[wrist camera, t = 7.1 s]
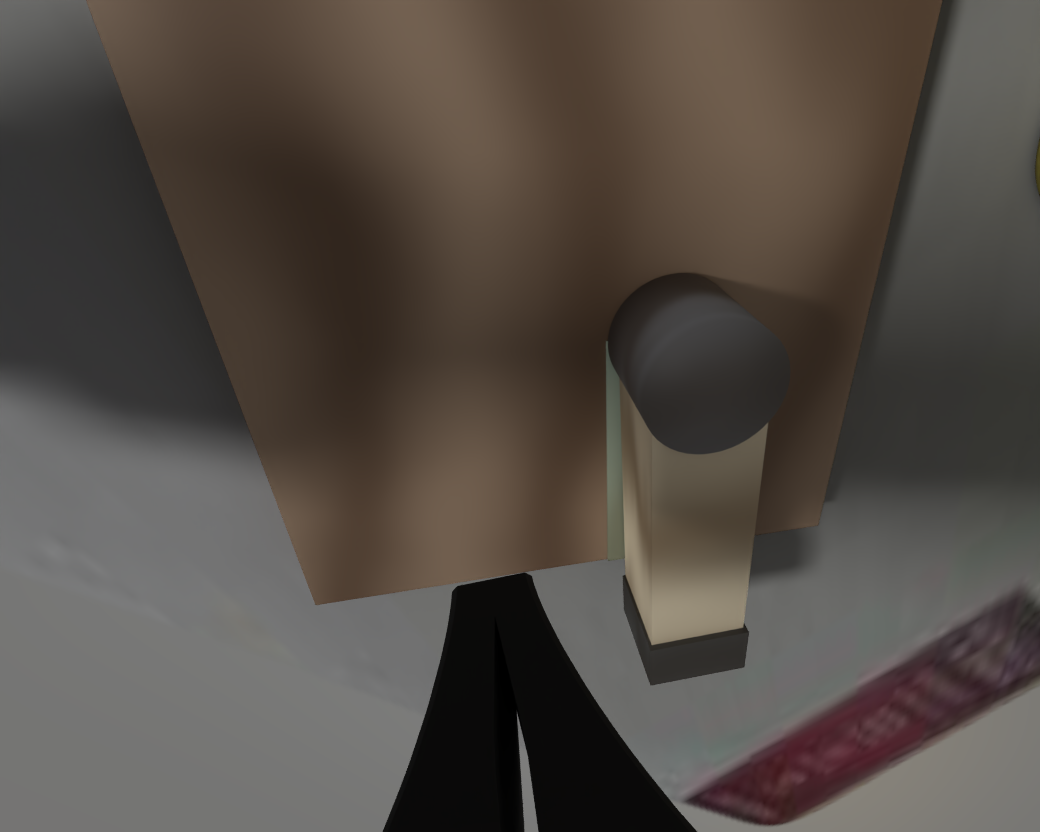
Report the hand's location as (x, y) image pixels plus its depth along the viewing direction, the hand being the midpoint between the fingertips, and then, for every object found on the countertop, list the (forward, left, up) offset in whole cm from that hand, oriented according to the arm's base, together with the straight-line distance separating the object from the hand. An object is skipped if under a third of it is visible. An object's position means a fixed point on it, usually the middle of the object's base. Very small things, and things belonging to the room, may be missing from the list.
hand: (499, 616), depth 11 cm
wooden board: (+3, +2, -9) cm, 10 cm away
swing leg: (+6, -3, -8) cm, 10 cm away
